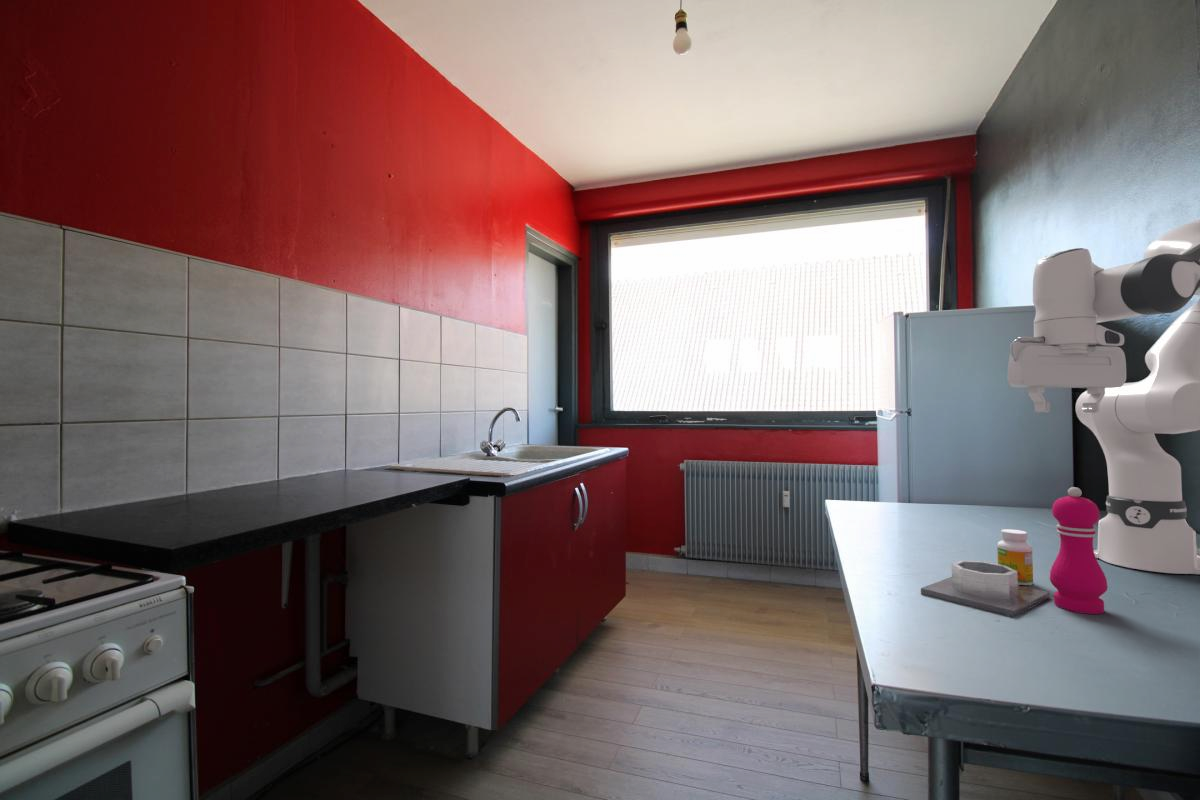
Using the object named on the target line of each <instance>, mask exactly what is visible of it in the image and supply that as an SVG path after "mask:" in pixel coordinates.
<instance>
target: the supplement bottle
mask: <svg viewBox="0 0 1200 800" xmlns="http://www.w3.org/2000/svg"><path fill="white" fill-rule="evenodd" d="M1000 533H1001V534H1000V536H1001V538H1002V540H1000V541H998V542H997V544H996V545H997V549H996V550H997V552H996V553H997V564H999V565H1004V566H1007V567H1009V568H1011V569H1013V570H1015V571H1017V579H1018V585H1019V586H1020V585H1029V586H1032V585H1033V584H1034V564H1033V558H1034V557H1033V547H1032V545H1031V544H1030V543H1028V542H1026V541H1028V532H1026V531H1025V530H1019V529H1012V528H1010V529H1009V528H1008V529H1007V528H1006V529H1001V531H1000Z"/></svg>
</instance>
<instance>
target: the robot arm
mask: <svg viewBox="0 0 1200 800" xmlns="http://www.w3.org/2000/svg"><path fill="white" fill-rule="evenodd" d="M1194 296H1199V297H1200V219H1197V220H1194V221H1190V222H1187V223H1185V224H1183V225H1180V226H1178V227H1176V228H1173V229H1172V230H1169V231H1167V232H1166V233H1164V234H1162V235H1161V236H1159V237H1158V238H1156V239H1155V240H1153V242H1151V244H1149V246H1148V247H1147V248H1146V249H1145V251H1144V254H1143V259H1141V260H1138V261H1134V262H1131V263H1126V264H1123V265H1118V266H1114V267H1111V268H1106V269H1104V268H1103V267H1100V266H1098V265H1097V264H1095V263H1094V262H1093V261H1092V256H1091V252H1090V250H1089V249H1088V248H1084V247H1083V248H1082V247H1078V248H1072V249H1071V248H1070V249H1066V250H1063V251H1057V252H1055V253H1052V254H1048V255H1046V256H1044V257H1041V258H1040V259H1039V260H1038V261H1037V262H1036V265H1035V267H1034V272H1033V279H1032V303H1033V306H1034V308H1035V317H1034V319H1033V336H1030V337H1029V336H1028V337H1027V336H1018V337H1017V339H1015V340H1013V341H1012V342H1011V343H1010V347H1009V348H1010V349H1009V350H1010V355H1009V359H1008V366H1007V375H1006V376H1007V382H1008V384H1009V386H1010V387H1012V388H1027V395H1028V396H1029V398H1030V399H1031V401H1032V402H1033V405H1034V406H1033V407H1034V412H1036V413H1049V412H1050V411H1051V402H1049V401H1046V399H1045V397H1044V396H1043V395H1044V393H1045V388H1061V389H1062V388H1063V389H1064V388H1069V389H1072V388H1073V389H1076V388H1077V389H1086V390H1085V391H1084V392H1082V393H1081V394H1080V395H1079V397H1078V398H1077V399H1076V402H1075V414H1076V417H1077V418H1078V420H1079V421H1080V423H1082V424H1083V425H1084V426H1086V427H1087V428H1088V429H1089V430H1090V431H1091V432H1092V433H1093V435H1094V436H1095V437H1096V439H1097V440H1098V441H1097V442H1098V443H1099V445H1100V448H1101V449H1102V452H1103V454H1104V457H1105V461H1106V462H1105V463H1106V467H1107V478H1108V479H1107V481H1108V495H1106V501H1105V505H1106V512H1107V515H1105V516H1104V517H1102V518H1101V519H1099V520H1098V521H1097V522H1098V524H1097V525H1098V526H1097V527H1098V528H1097V549H1093V550H1094V554H1095V557H1096V559H1098V558H1099V560H1102V561H1104V562H1106V563H1109V564H1111V565H1112V564H1113V565H1116V566H1120V567H1125V568H1128V569H1133V570H1135V569H1136V570H1141V571H1147V572H1156V573H1163V574H1164V573H1165V574H1175V575H1177V574H1178V575H1179V574H1180V575H1182V574H1184V575H1189V574H1191V575H1200V548H1198V547H1197V533H1196V531H1195V530H1194V529H1193V528H1192V527H1191V526H1190V525H1189V524H1188V523H1187V521H1186V519H1187V517H1188V515H1187V511H1188V510H1187V506H1186V501H1185V500H1183V489H1182V487H1183V484H1182V466H1181V464H1180V462H1179V460H1177V459H1176V458H1175V457H1174V456H1172V455H1171V454H1169V453H1167V452H1166V451H1165V450H1164V449H1163V448H1162V446H1160V443H1159V442H1158V439H1157V438H1156V435H1155V434H1163V435H1164V434H1165V435H1167V434H1169V435H1177V434H1185V433H1191V432H1197V431H1200V299H1199V300H1197V301H1196V302H1195V303H1194V304H1192V305H1191V306H1190V307H1189V308H1187V309H1186V310H1184V312H1183V313H1181V314H1180V315H1179V316H1178V317H1177V318H1176V319H1175V320H1174V321H1173V322H1171V324H1170V325H1169V326H1168V328H1167V329H1165V330H1164V332H1163V333H1162V334H1161V335H1160V337H1159V338H1158V339H1156V341H1155V343H1154V344H1153V345H1152V346H1151V347H1150V348H1149V350H1147V352H1146V354H1145V356H1144V363H1145V364H1146V367H1147V369H1148V370H1149V371H1150V373H1149V374H1148V376H1147V377H1145V378H1144V379H1142V380H1139V381H1135V382H1126V381H1127V361H1126V355H1125V352H1124V350H1123V349H1122V348H1121V347H1119V346H1123V345H1124V344H1125V336H1124V334H1122V333H1120V332H1119V331H1115V330H1112V329H1109V328H1107V327H1105V326H1103V325H1100V324H1099V323H1106V322H1111V321H1119V320H1124V319H1125V320H1126V319H1131V318H1136V317H1143V316H1153V315H1163V314H1172V313H1176V312H1177V311H1178V312H1179V310H1181V309H1183V308H1185V306H1187V304H1188V303H1189V301H1191V299H1192V298H1194Z"/></svg>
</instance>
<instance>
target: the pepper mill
mask: <svg viewBox="0 0 1200 800" xmlns="http://www.w3.org/2000/svg"><path fill="white" fill-rule="evenodd" d="M1082 494H1083V493H1082V490H1081V489H1080V488H1079V487H1075V486H1071V487H1070V488H1068V489H1067V496H1063V497H1059V498H1058V499H1056V500H1055V501H1054V502H1053V504H1052V506H1051V507H1052V508H1051V512H1052V516H1053V517H1054V519H1055V520H1057V522H1058V523H1057V524H1056V527H1057V530H1056V533H1058V534H1059V539H1060V546H1059V547H1060V548H1059V550H1058V551H1059V552H1058V554H1057V556H1056V558H1055V560H1054V562H1053V564H1052V566H1051V568H1050V571H1049V581H1050V583H1051V585H1052V586H1053V587H1054V588H1055V589H1056V590H1057V591H1056V592H1054V594H1053V601H1054V605H1055V604H1056V605H1055V606H1057V607H1058V606H1059V607H1058V608H1060V607H1061V609H1063V608H1064V610H1066V609H1067V610H1066V611H1069V610H1070V612H1074V611H1075V612H1074V613H1079V612H1080V613H1079V614H1085V613H1088V615H1099V614H1100V615H1101V614H1103V613H1104V612H1105V600H1103V599H1102V598H1101V597H1102V595H1104V594H1105V593H1106V592H1107V591H1108V581H1107V577H1106V576H1105V573H1104V571H1103V569H1102V568H1101V565H1100V564H1099V562H1098V560H1097V558H1096V557H1095V554H1094V550H1095V549H1094V538H1095V537H1097V534H1096V531H1097V528H1096V527H1094V525H1095V524H1096V523H1097V522H1099V520H1100V517H1101V515H1100V509H1099V507H1098V505H1097V504H1096V503H1095V502H1093V501H1092V500H1090V499H1089V498H1085V497H1082Z"/></svg>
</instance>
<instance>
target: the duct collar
mask: <svg viewBox="0 0 1200 800" xmlns="http://www.w3.org/2000/svg"><path fill="white" fill-rule="evenodd" d="M1050 593H1051V592H1050V591H1047V590H1042V589H1039V588H1038V589H1037V588H1031V587H1028V586H1020V585H1018V579H1017V571H1015V570H1013V569H1011V568H1009V567H1007V566H1004V565H999V564H998V563H995V562H988V561H984V560H983V561H982V560H981V561H980V560H958V561H956V562H953V563H951V577H950V576H949V577H948V578H944V579H942V580H939V581H936V582H933V583H932V584H931V583H930V584H929V585H925V586H923V587H921V588H920V595H925V596H926V597H927V596H928V597H932V598H935V599H941V600H943V601H946V602H947V601H949V602H951V603H955V604H960V605H965V606H968V607H971V608H974V609H975V608H976V609H979V610H984V611H988V612H992V613H995V614H999V615H1004V616H1007V617H1011V618H1015V617H1017V616H1018V614H1019V615H1020V614H1022V613H1024V612H1025V610H1026V611H1027V609H1028V608H1030V607H1032V606H1033V607H1035V606H1037V605H1039V604H1040V603H1039V602H1041V601H1043V600H1045V599H1046V600H1048V599H1050V598H1051V597H1050V596H1051V595H1050ZM1049 597H1050V598H1049ZM1047 598H1048V599H1047ZM1046 600H1045V601H1046ZM1043 602H1044V601H1043ZM1038 603H1039V604H1038ZM1041 603H1042V602H1041ZM1036 604H1037V605H1036ZM1034 605H1035V606H1034ZM1033 607H1032V608H1033ZM1030 609H1031V608H1030ZM1028 610H1029V609H1028ZM1023 611H1024V612H1023ZM1021 612H1022V613H1021ZM1016 615H1017V616H1016ZM1014 616H1015V617H1014Z"/></svg>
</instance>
